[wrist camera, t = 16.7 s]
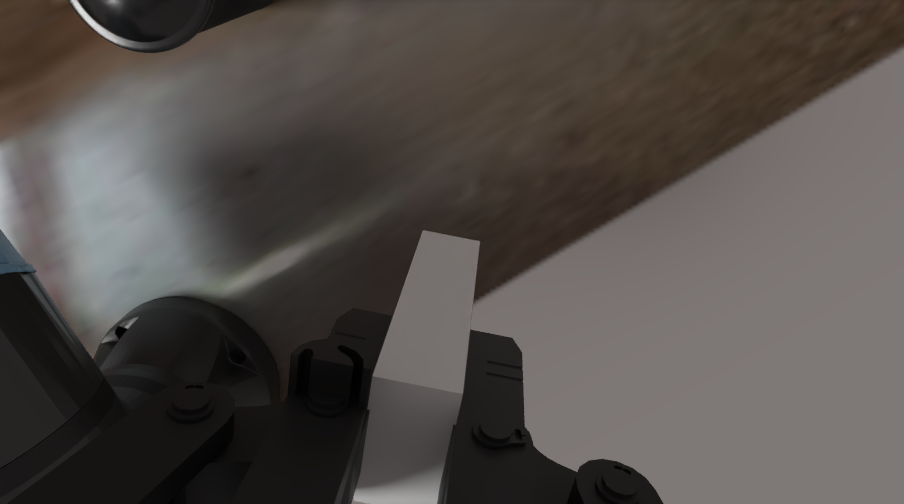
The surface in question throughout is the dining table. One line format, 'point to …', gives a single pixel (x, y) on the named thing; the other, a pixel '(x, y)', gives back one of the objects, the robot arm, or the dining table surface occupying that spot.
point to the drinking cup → (158, 20)
